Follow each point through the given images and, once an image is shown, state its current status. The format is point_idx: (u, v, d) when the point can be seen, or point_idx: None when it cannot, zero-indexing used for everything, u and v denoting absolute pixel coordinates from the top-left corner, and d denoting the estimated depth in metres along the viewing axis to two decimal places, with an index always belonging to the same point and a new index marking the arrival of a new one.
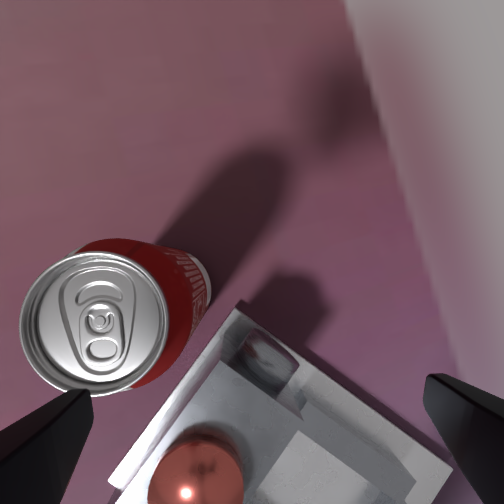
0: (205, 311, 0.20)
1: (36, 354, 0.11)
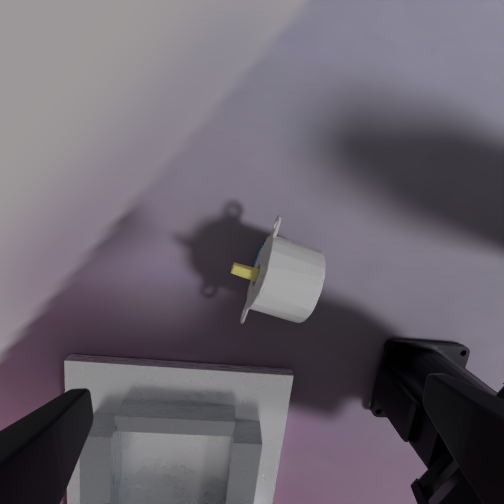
0: None
1: None
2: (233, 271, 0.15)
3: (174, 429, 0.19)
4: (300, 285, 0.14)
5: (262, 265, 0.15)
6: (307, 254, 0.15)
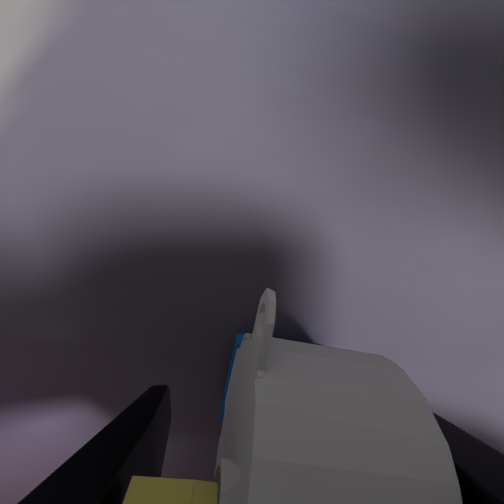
0: None
1: None
2: None
3: None
4: None
5: (226, 502, 0.04)
6: (382, 425, 0.04)
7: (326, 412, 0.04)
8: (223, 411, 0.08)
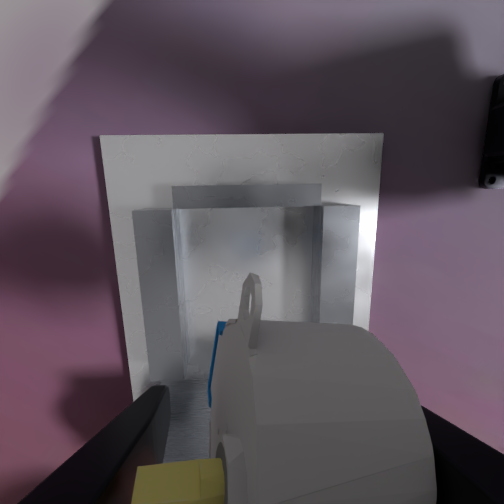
0: None
1: None
2: None
3: (247, 200, 0.15)
4: None
5: (234, 470, 0.04)
6: (361, 381, 0.05)
7: (314, 377, 0.05)
8: (210, 397, 0.08)
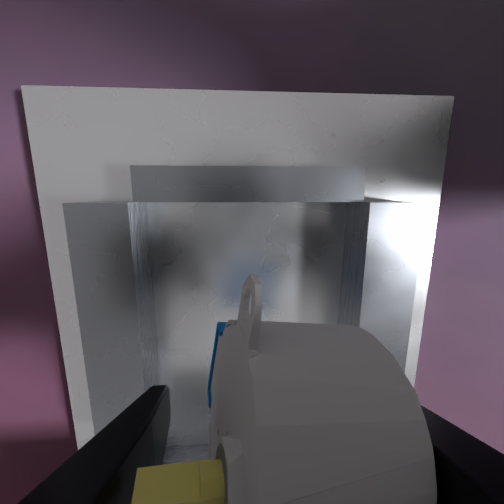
0: None
1: None
2: None
3: (250, 191, 0.10)
4: None
5: (234, 472, 0.04)
6: (361, 382, 0.05)
7: (315, 378, 0.05)
8: (210, 398, 0.08)
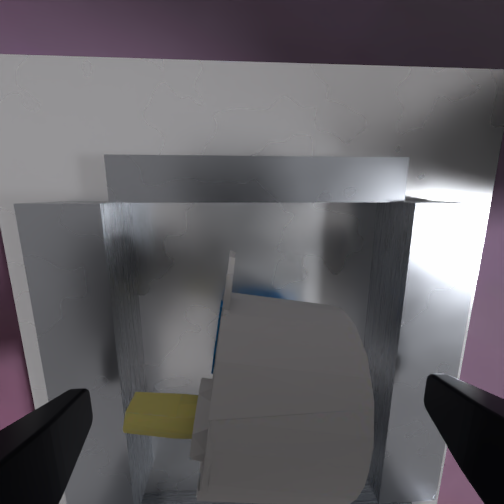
0: None
1: None
2: (127, 430, 0.06)
3: (259, 188, 0.07)
4: (312, 449, 0.05)
5: (202, 399, 0.06)
6: (316, 342, 0.06)
7: (274, 334, 0.06)
8: (213, 365, 0.09)
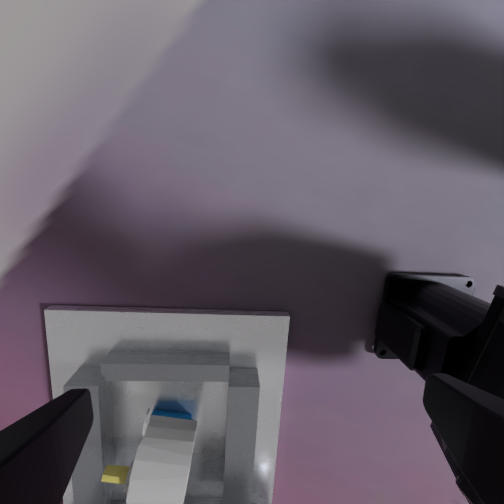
0: None
1: None
2: (102, 481, 0.16)
3: (165, 376, 0.18)
4: (163, 491, 0.15)
5: (129, 471, 0.16)
6: (174, 450, 0.16)
7: (158, 447, 0.16)
8: None
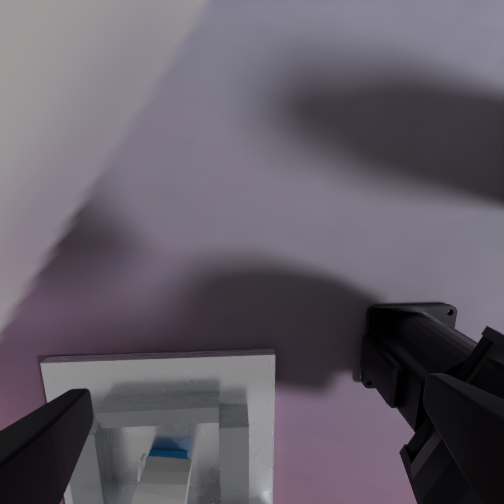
0: None
1: None
2: None
3: (157, 420, 0.18)
4: None
5: None
6: (168, 495, 0.17)
7: (153, 492, 0.17)
8: None
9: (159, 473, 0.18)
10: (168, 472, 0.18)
